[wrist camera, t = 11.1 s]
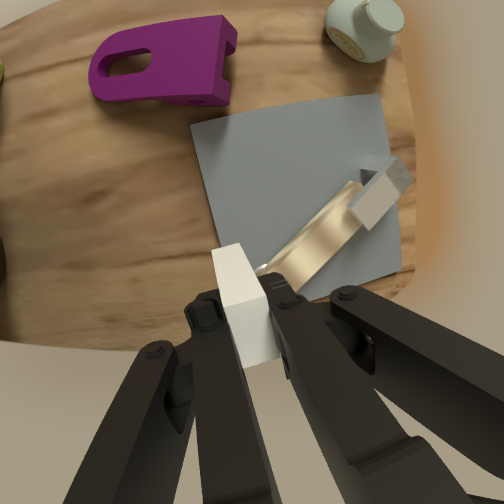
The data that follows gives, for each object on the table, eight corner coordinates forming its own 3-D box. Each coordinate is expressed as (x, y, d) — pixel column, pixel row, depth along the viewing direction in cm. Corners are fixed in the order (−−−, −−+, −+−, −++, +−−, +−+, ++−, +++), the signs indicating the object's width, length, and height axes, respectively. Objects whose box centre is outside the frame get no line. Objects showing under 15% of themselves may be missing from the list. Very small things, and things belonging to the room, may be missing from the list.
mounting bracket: (122, 110, 42) (238, 107, 37) (84, 103, 34) (212, 94, 30) (130, 51, 39) (245, 40, 35) (94, 37, 31) (222, 14, 27)
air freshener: (390, 43, 39) (428, 28, 30) (364, 75, 40) (403, 61, 31) (338, -4, 36) (369, -30, 26) (309, 25, 37) (337, -1, 27)
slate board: (240, 316, 48) (242, 321, 47) (189, 126, 39) (189, 125, 37) (396, 266, 51) (401, 269, 49) (373, 94, 41) (379, 93, 40)
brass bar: (268, 306, 46) (273, 316, 43) (243, 284, 44) (247, 293, 41) (369, 204, 44) (379, 208, 41) (349, 179, 42) (359, 181, 40)
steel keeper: (346, 220, 45) (368, 231, 39) (329, 200, 43) (350, 208, 37) (388, 175, 44) (414, 179, 38) (373, 154, 42) (398, 156, 36)
